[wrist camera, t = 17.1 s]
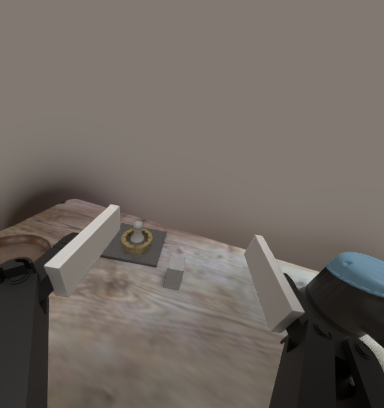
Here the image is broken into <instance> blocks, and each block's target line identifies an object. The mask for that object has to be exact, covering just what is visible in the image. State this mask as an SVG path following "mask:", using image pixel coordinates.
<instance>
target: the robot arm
mask: <svg viewBox="0 0 384 408" xmlns="http://www.w3.org/2000/svg"><path fill="white" fill-rule="evenodd" d="M119 230H120V206H116V205H110V206H109V207H108V208H107V209H106V210H105V211H104V212H102V213H101V214H100V215H99V216H98V217H97V218H96V219H95V220H94V221H93V222H91V223H90V224H89V225H88V226H87V227H86V228H85V229H84V230H83V231H82V232H80V233H74V232H73V233H71V234H69V235H67V236H65V237H63V238H62V239H61V240H60V241H59V242H58V243H56V244H55V245H54V246H53V247H52V248H50V249H49V250H48V251H47V252H45V253H44V254H43V255H42V256H41V257H39V258H38V259H37V260H36V261H35V262H33V261H32V259H30V258H29V257H18V258H13V259H10V260H8V261H6V262H4V263H2V264H0V408H47V386H48V329H49V297H48V296H49V295H50V293H51V292H52V291H53V290H54V293H55V295H56V296H62V297H68V298H69V296H70V295H71V294H72V292H73V291H74V290H75V288H76V287H77V286H78V284H79V283H80V282H81V280H82V279H83V278H84V277H85V275H86V274H87V273H88V271H89V270H90V269H91V267H92V266H93V265H94V263H95V262H96V261H97V259H98V258H99V257H100V255H101V254H102V253H103V251H104V250H105V249H106V247H107V246H108V245H109V243H110V242H111V241H112V239H113V238H114V237H115V235H116V234H117V233H118V232H119ZM244 255H245V258H246V261H247V264H248V267H249V270H250V273H251V276H252V279H253V282H254V285H255V288H256V290H257V293H258V296H259V299H260V302H261V305H262V308H263V311H264V314H265V317H266V320H267V323H268V326H269V329H270V331H272V332H278V333H282V332H283V331H284V330H285V329H286V330H287V332H288V335H287V336H286V337H285V338H284V339H282V340H281V342H280V343H281V344H283V343H284V342H285V344H284V348H283V352H282V356H281V360H280V365H279V369H278V373H277V377H276V381H275V385H274V389H273V393H272V398H271V402H270V406H269V408H384V372H383V370H382V368H381V365H380V363H379V361H378V359H377V358H376V356H375V354H374V353H373V352H372V350H371V349H370V348H369V347H368V346H367V345H366V344H365V343H364V342H362V341H361V340H360V339H359V338H361V337H362V336H364V335H366V334H368V335H369V336H370V337H371V338H372V339H374V340H375V341H376V342H377V343H378V344H379V345H381V346H382V347H383V348H384V261H381V260H379V259H376V258H373V257H371V256H368V255H364V254H360V253H356V252H343V253H340V254H339V255H337V256H336V257H335V258H334V259H333V260H332V261H329V262H328V263H327V264H326V267H325V268H324V269H323V270H322V271H321V272H320V273H319V274H318V275H317V276H316V277H315V278H314V279H313V280H311V281H310V282H309V284H307V285H306V286H305V287H302V288H299V289H298V288H296V285H295V283H294V282H293V280H292V279H291V278H290V277H289V276H288V275H287V274H286V273H283V272H282V270H281V269H280V267H279V265H278V263H277V261H276V260H275V258H274V256H273V254H272V252H271V251H270V249H269V247H268V245H267V243H266V242H265V240H264V239H263V237H262V236H259V235H255V236H254V238H253V239H252V241H251V243H250V245H249V247H248V248H247V250H246V252H245V254H244ZM351 378H353V381H354V384H355V386H354V385H353V383H352V379H351Z"/></svg>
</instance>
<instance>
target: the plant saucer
mask: <svg viewBox="0 0 384 408" xmlns="http://www.w3.org/2000/svg"><path fill="white" fill-rule="evenodd" d="M50 248H52V244H51V242H50V241H49V240H48V239H46V238H44V237H42V236H38V235H31V234H20V235H11V236H5V237H0V264H2V263H4V262H6V261H8V260H10V259H13V258H18V257H29V258H30V259H34V258H36V257H38V256H42V255H43V254H44V253H45V252H47V251H48V250H49V249H50Z"/></svg>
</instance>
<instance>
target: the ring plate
mask: <svg viewBox="0 0 384 408" xmlns="http://www.w3.org/2000/svg"><path fill="white" fill-rule="evenodd" d="M133 228H134V227H133V225H128V224H123V223H122V224H121V225H120V230H119V232H118V233H117V234H116V235H115V237H114V238H113V239H112V241H111V242H110V243H109V245H108V246H107V247H106V249H105V250H104V251H103V253H102V254H101V255H100V257H103V258H108V259H114V260H119V261H124V262H130V263H135V264H141V265H146V266H151V267H157V263H158V260H159V257H160V253H161V250H162V247H163V244H164V240H165V237H166V233H167V232H163V231H158V230H153V229H148V228H143V227H142V228H143V230H142V234H143V236H144V243H143V244H141V245H132V244H131V243H130V240H131V236H132V235H133V233H134V230H133Z"/></svg>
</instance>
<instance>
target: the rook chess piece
mask: <svg viewBox="0 0 384 408" xmlns="http://www.w3.org/2000/svg"><path fill="white" fill-rule="evenodd" d="M143 226H144V224H143V222H142V221H140V222H139V220H137V222H136V221H135V223H134V224H133V227H134V228H133V230H134V233H133V235H132V236H131V240H130V243H131V244H132V245H141V244H143V243H144V236H143V234H142V230H143V228H142V227H143Z"/></svg>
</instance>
